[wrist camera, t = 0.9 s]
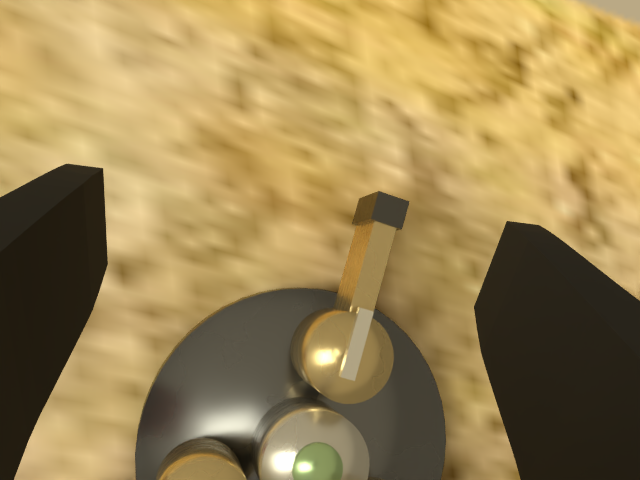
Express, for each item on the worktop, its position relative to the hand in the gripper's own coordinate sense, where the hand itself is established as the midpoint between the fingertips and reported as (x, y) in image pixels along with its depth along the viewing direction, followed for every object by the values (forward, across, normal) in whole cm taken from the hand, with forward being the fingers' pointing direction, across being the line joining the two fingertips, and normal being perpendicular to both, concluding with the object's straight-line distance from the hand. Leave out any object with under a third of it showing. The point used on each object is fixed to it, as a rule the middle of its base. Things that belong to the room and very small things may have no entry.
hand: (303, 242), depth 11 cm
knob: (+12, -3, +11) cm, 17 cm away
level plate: (+9, -2, +17) cm, 20 cm away
